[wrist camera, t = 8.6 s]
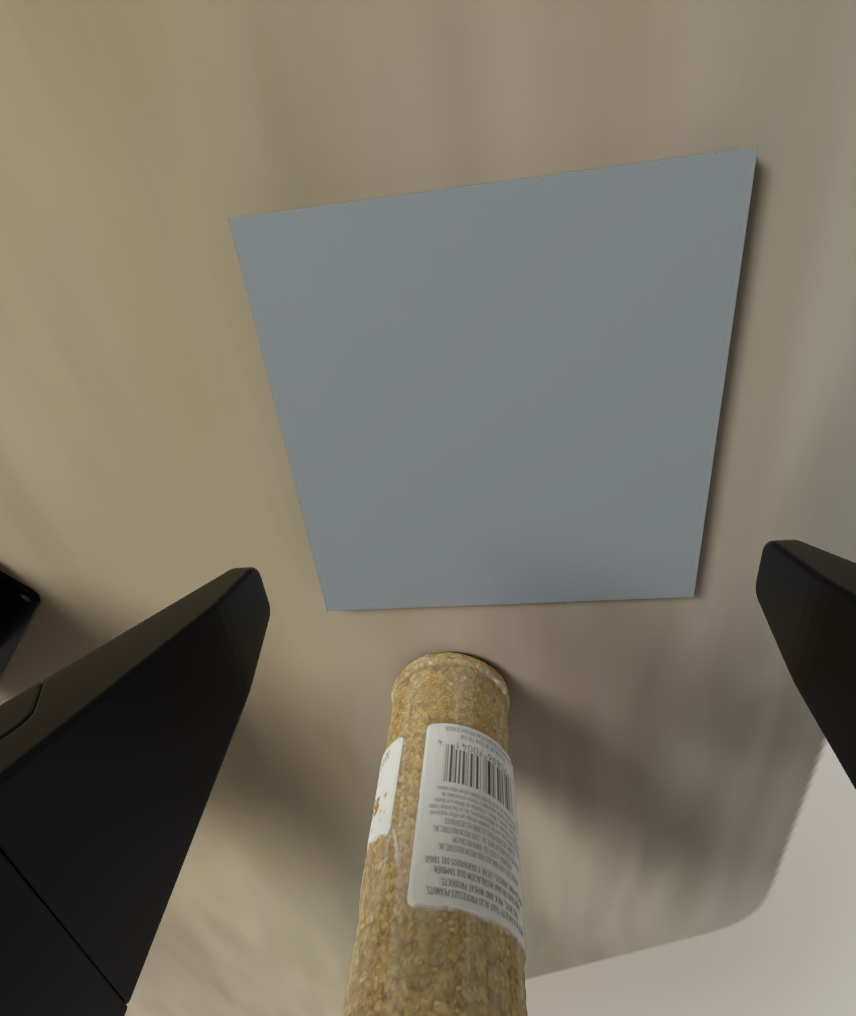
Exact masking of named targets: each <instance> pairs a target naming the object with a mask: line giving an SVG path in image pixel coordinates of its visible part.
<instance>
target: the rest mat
mask: <svg viewBox="0 0 856 1016" xmlns="http://www.w3.org/2000/svg"><path fill="white" fill-rule="evenodd" d="M757 150H758V147H752V148H744V149H737V150H730V151H722V152H715V153H707V154H700V155H693V156H685V157H678V158H670V159H663V160H656V161H648V162H641V163H634V164H626V165H619V166H611V167H604V168H597V169H589V170H582V171H574V172H567V173H560V174H552V175H545V176H538V177H530V178H523V179H515V180H508V181H501V182H493V183H486V184H478V185H471V186H464V187H456V188H449V189H441V190H434V191H427V192H419V193H412V194H405V195H397V196H390V197H382V198H375V199H368V200H360V201H353V202H345V203H338V204H331V205H323V206H316V207H309V208H301V209H294V210H286V211H279V212H272V213H264V214H257V215H249V216H242V217H235V218H228V219H229V223H230V227H231V231H232V234H233V238H234V242H235V246H236V250H237V254H238V258H239V262H240V266H241V270H242V274H243V278H244V282H245V286H246V290H247V294H248V298H249V302H250V306H251V310H252V314H253V318H254V322H255V326H256V330H257V334H258V338H259V342H260V346H261V350H262V354H263V358H264V362H265V366H266V370H267V374H268V378H269V382H270V386H271V390H272V394H273V398H274V402H275V406H276V410H277V413H278V417H279V421H280V425H281V429H282V433H283V437H284V441H285V445H286V449H287V453H288V457H289V461H290V465H291V469H292V473H293V477H294V481H295V485H296V489H297V493H298V497H299V501H300V505H301V509H302V513H303V517H304V521H305V525H306V529H307V533H308V537H309V541H310V545H311V549H312V553H313V557H314V561H315V565H316V569H317V573H318V577H319V581H320V585H321V589H322V592H323V596H324V600H325V604H326V608H327V611H340V610H366V609H393V608H419V607H445V606H471V605H497V604H523V603H550V602H576V601H602V600H628V599H654V598H680V597H694V591H695V584H696V577H697V570H698V563H699V556H700V549H701V542H702V535H703V528H704V521H705V514H706V507H707V500H708V493H709V486H710V479H711V472H712V465H713V458H714V451H715V444H716V437H717V430H718V423H719V416H720V409H721V402H722V395H723V388H724V381H725V374H726V367H727V360H728V353H729V346H730V339H731V332H732V325H733V318H734V311H735V304H736V297H737V290H738V283H739V276H740V269H741V262H742V255H743V248H744V241H745V234H746V227H747V220H748V213H749V206H750V199H751V192H752V185H753V178H754V171H755V164H756V157H757Z"/></svg>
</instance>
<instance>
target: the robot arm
mask: <svg viewBox="0 0 856 1016" xmlns="http://www.w3.org/2000/svg"><path fill="white" fill-rule="evenodd" d="M21 594H23V595H26V596H27V597H28V598H29V599H30V601H31V602H27V601H25V600H23V599H22V597H21ZM756 594H757V598H758V601H759V603H760V605H761V608H762V610H763V612H764V615H765V617H766V619H767V622H768V624H769V626H770V629H771V631H772V633H773V636H774V638H775V640H776V643H777V645H778V647H779V650H780V652H781V654H782V656H783V659H784V661H785V663H786V666H787V668H788V670H789V672H790V674H791V677H792V679H793V681H794V683H795V684H796V686H797V688H798V690H799V692H800V694H801V696H802V697H803V699H804V701H805V702H806V704H807V706H808V708H809V709H810V711H811V713H812V715H813V716H814V718H815V720H816V722H817V723H818V725H819V727H820V728H821V730H822V732H823V734H824V735H825V737H826V739H827V741H828V742H829V744H830V746H831V747H832V749H833V751H834V753H835V754H836V756H837V758H838V759H839V761H840V763H841V765H842V767H843V768H844V770H845V772H846V774H847V775H848V777H849V779H850V780H851V782H852V784H853V786H854V787H855V789H856V563H854V562H851V561H849V560H846V559H844V558H841V557H839V556H836V555H834V554H831V553H829V552H826V551H824V550H821V549H819V548H816V547H814V546H811V545H809V544H806V543H804V542H801V541H798V540H777V541H769V542H768V543H767V544H766V545H765V546H764V548H763V551H762V556H761V561H760V566H759V571H758V576H757V581H756ZM40 601H41V600H40V597H39V595H38V594H37V593H36V592H35V591H34V590H33V589H31V588H29V587H28V586H26V585H24V584H22V583H21V582H19V581H17V580H15V579H14V578H12V577H10V576H8V575H7V574H5V573H3V572H1V571H0V676H1V674H2V673H3V671H4V669H5V667H6V665H7V663H8V662H9V660H10V658H11V656H12V654H13V652H14V651H15V649H16V647H17V645H18V643H19V641H20V640H21V638H22V636H23V634H24V632H25V630H26V629H27V627H28V625H29V623H30V621H31V619H32V618H33V616H34V614H35V612H36V610H37V608H38V607H39V605H40ZM269 617H270V605H269V601H268V598H267V595H266V592H265V589H264V585H263V582H262V579H261V576H260V574H259V572H258V570H257V569H255V568H253V567H248V568H234V569H231V570H229V571H227V572H226V573H224V574H222V575H221V576H219V577H217V578H216V579H214V580H212V581H211V582H209V583H207V584H205V585H204V586H202V587H200V588H199V589H197V590H195V591H194V592H192V593H190V594H189V595H187V596H185V597H183V598H182V599H180V600H178V601H177V602H175V603H173V604H172V605H170V606H168V607H167V608H165V609H163V610H161V611H160V612H158V613H156V614H155V615H153V616H151V617H150V618H148V619H146V620H145V621H143V622H141V623H139V624H138V625H136V626H134V627H133V628H131V629H129V630H128V631H126V632H124V633H122V634H121V635H119V636H117V637H116V638H114V639H112V640H111V641H109V642H107V643H106V644H104V645H102V646H100V647H99V648H97V649H95V650H94V651H92V652H90V653H89V654H87V655H85V656H84V657H82V658H80V659H78V660H77V661H75V662H73V663H72V664H70V665H68V666H67V667H65V668H63V669H62V670H60V671H58V672H56V673H55V674H53V675H51V676H50V677H48V678H46V679H45V680H44V683H38V684H36V685H34V686H33V687H31V688H29V689H27V690H26V691H24V692H22V693H21V694H19V695H17V696H16V697H14V698H12V699H10V700H9V701H7V702H5V703H4V704H2V705H0V1016H124V1015H125V1013H126V1010H127V1005H126V1004H127V1003H128V1002H129V1001H130V999H131V996H132V994H133V991H134V988H135V986H136V983H137V981H138V978H139V976H140V973H141V970H142V968H143V965H144V963H145V960H146V958H147V955H148V952H149V950H150V947H151V945H152V942H153V940H154V937H155V934H156V932H157V929H158V927H159V924H160V922H161V919H162V916H163V914H164V911H165V909H166V906H167V904H168V901H169V899H170V896H171V893H172V891H173V888H174V886H175V883H176V881H177V878H178V875H179V873H180V870H181V868H182V865H183V863H184V860H185V857H186V855H187V852H188V850H189V847H190V845H191V842H192V839H193V837H194V834H195V832H196V829H197V827H198V824H199V821H200V819H201V816H202V814H203V811H204V809H205V806H206V803H207V801H208V798H209V796H210V793H211V791H212V788H213V785H214V783H215V780H216V778H217V775H218V773H219V770H220V767H221V765H222V762H223V760H224V757H225V755H226V752H227V749H228V747H229V744H230V742H231V739H232V737H233V734H234V732H235V729H236V726H237V724H238V721H239V719H240V716H241V714H242V711H243V708H244V706H245V703H246V700H247V698H248V695H249V692H250V689H251V685H252V682H253V678H254V674H255V671H256V667H257V663H258V659H259V656H260V652H261V648H262V644H263V640H264V637H265V633H266V629H267V625H268V622H269Z"/></svg>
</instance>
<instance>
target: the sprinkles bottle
mask: <svg viewBox="0 0 856 1016" xmlns="http://www.w3.org/2000/svg"><path fill="white" fill-rule="evenodd" d="M391 703H392V713H391V720H390V725H389V730H388V738H387V744H386V749H385V753H384V755H383V758H382V762H381V767H380V773H379V779H378V785H377V791H376V797H375V803H374V809H373V816H372V822H371V828H370V833H369V839H368V847H367V855H366V862H365V867H364V872H363V879H362V886H361V894H360V903H359V917H358V922H357V927H356V933H355V943H354V947H353V951H352V955H351V959H350V969H349V974H348V979H347V987H346V995H345V999H344V1004H343V1012H342V1016H527V1009H526V990H525V975H524V965H525V961H526V948H525V932H524V916H523V900H522V886H521V872H520V857H519V840H518V826H517V812H516V798H515V784H514V772H513V766H512V763H511V760H510V748H509V735H508V734H509V728H508V717H507V715H508V711H509V707H510V695H509V691H508V688H507V685H506V683H505V681H504V679H503V677H502V676H501V675H500V674H499V673H498V672H497V671H496V670H495V669H493V668H492V667H491V666H489V665H487V664H486V663H485V662H483V661H481V660H479V659H477V658H474V657H470V656H468V655H465V654H459V653H452V652H446V653H437V654H430V655H425V656H421V657H419V658H418V659H416V660H415V661H413V662H411V663H409V664H408V665H407V666H406V667H405V668H404V669H403V671H402V672H401V673H400V674H399V675H398V677H397V678H396V680H395V682H394V684H393V687H392V695H391Z"/></svg>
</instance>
